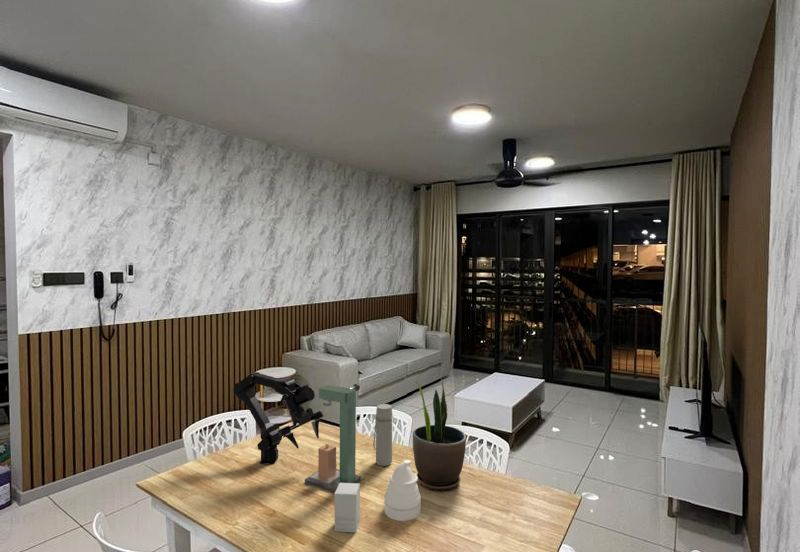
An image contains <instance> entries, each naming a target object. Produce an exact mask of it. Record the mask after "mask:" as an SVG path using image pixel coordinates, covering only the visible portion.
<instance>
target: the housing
mask: <svg viewBox="0 0 800 552" xmlns="http://www.w3.org/2000/svg"><path fill="white" fill-rule="evenodd" d="M317 457H318V459H317V460H318V464H317V465H318V468H317V471H318V476H321V477H324V478H327V479H329V478H330V477H332V476H333V475H335V474H336V469H337V446H336V445H331V444H330V443H329V442H326V443H325V444H324V445H322V446H320V447H319V448H318V455H317Z"/></svg>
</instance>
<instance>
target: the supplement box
mask: <svg viewBox="0 0 800 552" xmlns="http://www.w3.org/2000/svg"><path fill="white" fill-rule="evenodd" d="M333 493H334V492H333ZM333 495H334V496H333V497H334V532H339V533H340V532H342V533H357V531H358V528H359V524H360V521H361V484H360V483H339V485H338V487H337V489H336V491H335V493H334V494H333Z"/></svg>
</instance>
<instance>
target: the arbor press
mask: <svg viewBox="0 0 800 552" xmlns="http://www.w3.org/2000/svg"><path fill="white" fill-rule="evenodd" d="M360 389H361V386H360V384H359V383H354V384H353V385H352V386H351V387H349V388H348V387H344V386H338V385H332V384H327V385H324V386H322V387H319V388H318V399H320V400H322V406H324V407H329V406H332V405H333V402H335V403H339V469H337V468H336V474H335V475H333V476H332V477H330V478H329V479H327V478H324V477H321V476H318V470H317V471H315V472H314V473H312V474H311V475H309V476H308V477H306V478H305V479H304V484H308V485H311V486H313V487H316V488H319V489H323V490H324V491H325V490H326V491H329V492H331V493H335V491H336V489H337V487H338V485H339V483H357V484H359V482H361V481H362V476H361V475H359V474H356V452H357V451H356V441H357V440H356V432H357V430H356V429H357V427H356V426H357V425H356V423H357V419H356V416H357V413H356V411H357V407H356V405H357V399H356V398H357V397H356V396H357V392H358V391H360Z"/></svg>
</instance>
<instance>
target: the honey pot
mask: <svg viewBox="0 0 800 552" xmlns="http://www.w3.org/2000/svg"><path fill="white" fill-rule="evenodd" d="M411 463H412V461H411V460H410V459H405V460H403V462H401V463H399V464H398V465H397V466H396V467H395V469H394V471H393V473H391V474H390V476H389V483H388V484H387V488H386V491H385V493H384V504H383V505H384V507H383V509H384V514H385V515H386V516H387V517H388V518H389V519H392V520H394V521H398V522H406V521H411V520H414V519H416V518H418V517H419V516H420V514H421V512H422V511H421V510H422V509H421V508H422V501H421V500H422V499H421V498H422V497H421V492H420V489H419V486H418V483H417V482H418V477H417V474H416V473H414V472H413V471H412V469H411V468H410V465H411Z"/></svg>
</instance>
